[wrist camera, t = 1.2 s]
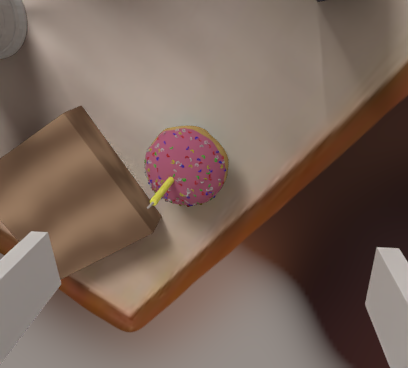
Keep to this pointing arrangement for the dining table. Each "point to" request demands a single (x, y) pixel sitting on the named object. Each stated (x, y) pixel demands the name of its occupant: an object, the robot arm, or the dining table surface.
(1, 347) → the robot arm
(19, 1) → the glass holder
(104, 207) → the pedestal
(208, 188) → the cupcake
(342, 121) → the dining table surface
